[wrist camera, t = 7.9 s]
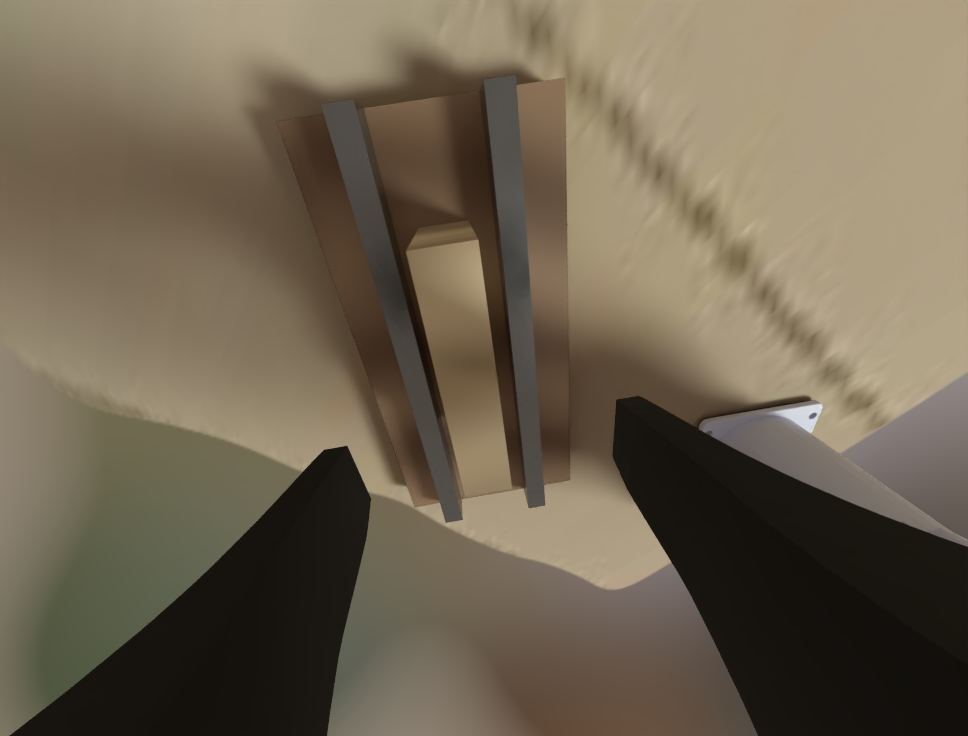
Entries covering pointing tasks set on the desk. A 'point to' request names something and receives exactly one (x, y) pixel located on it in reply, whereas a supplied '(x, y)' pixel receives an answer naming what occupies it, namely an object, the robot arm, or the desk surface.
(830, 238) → the desk surface
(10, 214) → the desk surface
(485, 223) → the track board
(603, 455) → the desk surface
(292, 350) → the desk surface
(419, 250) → the wooden block
